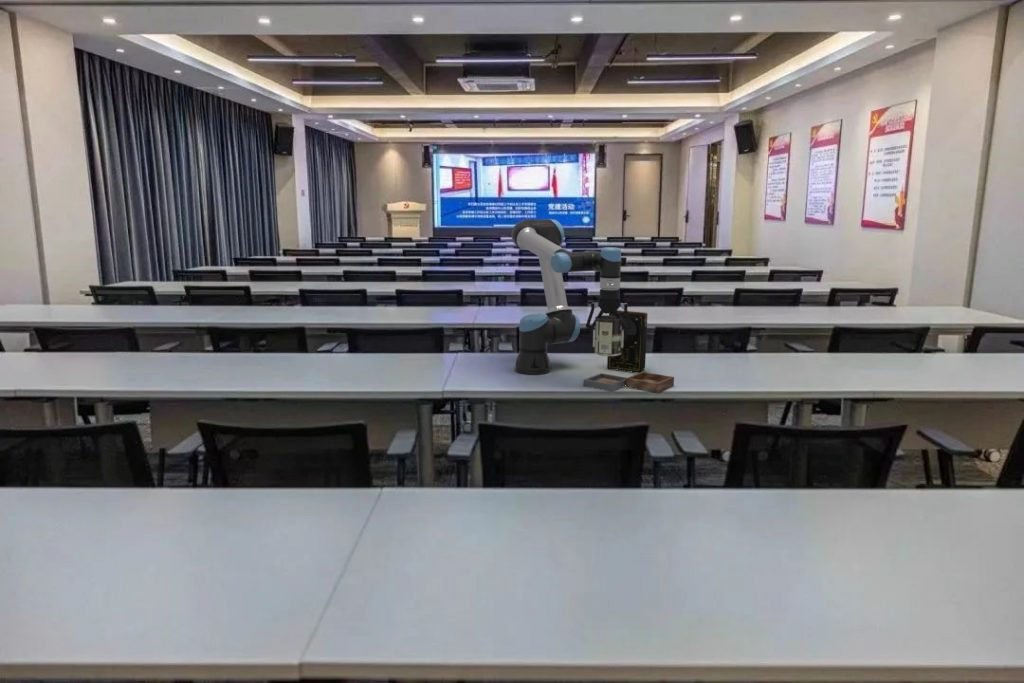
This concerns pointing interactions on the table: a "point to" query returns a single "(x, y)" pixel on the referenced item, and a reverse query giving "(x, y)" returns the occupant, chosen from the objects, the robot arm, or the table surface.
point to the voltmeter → (631, 344)
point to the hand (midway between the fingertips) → (607, 346)
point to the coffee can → (608, 336)
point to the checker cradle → (605, 382)
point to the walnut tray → (650, 382)
